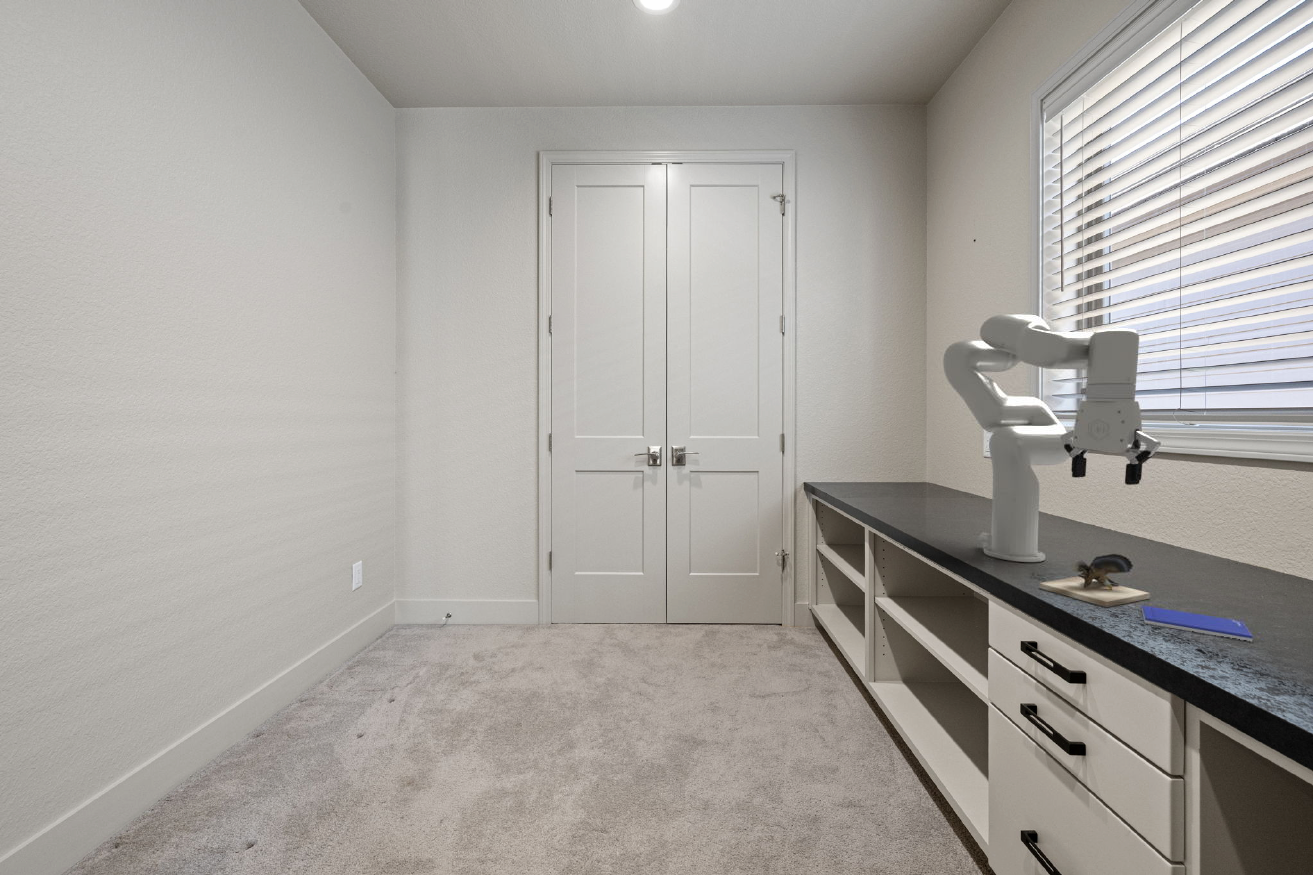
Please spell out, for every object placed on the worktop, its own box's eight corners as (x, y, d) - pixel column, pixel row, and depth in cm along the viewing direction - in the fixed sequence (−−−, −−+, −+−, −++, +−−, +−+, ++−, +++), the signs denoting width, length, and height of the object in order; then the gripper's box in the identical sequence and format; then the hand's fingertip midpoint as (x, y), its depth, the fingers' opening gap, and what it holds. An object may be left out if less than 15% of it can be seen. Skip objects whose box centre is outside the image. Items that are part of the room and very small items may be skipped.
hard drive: (1241, 620, 92) (1141, 604, 100) (1252, 635, 86) (1145, 617, 93) (1241, 629, 92) (1141, 613, 100) (1252, 645, 86) (1144, 626, 93)
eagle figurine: (1118, 590, 103) (1144, 576, 107) (1092, 554, 106) (1118, 541, 110) (1081, 601, 110) (1107, 587, 113) (1057, 567, 112) (1083, 554, 116)
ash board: (1039, 587, 112) (1039, 582, 112) (1080, 580, 117) (1081, 575, 117) (1106, 607, 101) (1107, 601, 101) (1149, 598, 106) (1149, 593, 106)
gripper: (1052, 393, 117) (1047, 475, 118) (1149, 393, 101) (1142, 488, 102) (1076, 393, 120) (1071, 473, 121) (1175, 394, 104) (1168, 486, 105)
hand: (1104, 480), depth 112 cm, fingers open, 9 cm apart
